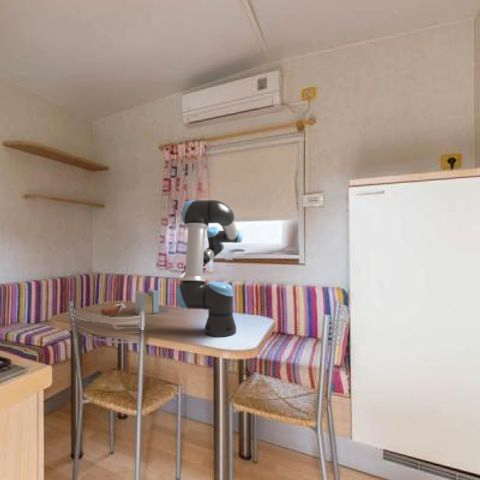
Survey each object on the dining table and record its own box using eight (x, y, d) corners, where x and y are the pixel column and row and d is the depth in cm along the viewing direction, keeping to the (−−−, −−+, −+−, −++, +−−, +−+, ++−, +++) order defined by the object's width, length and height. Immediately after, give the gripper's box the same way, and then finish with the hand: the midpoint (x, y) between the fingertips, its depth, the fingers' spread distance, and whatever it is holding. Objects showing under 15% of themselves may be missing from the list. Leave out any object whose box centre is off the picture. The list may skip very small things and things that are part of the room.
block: (148, 310, 174) (148, 293, 174) (152, 313, 167) (152, 295, 167) (141, 311, 172) (141, 294, 172) (145, 314, 165) (145, 296, 165)
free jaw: (152, 308, 177) (152, 288, 176) (158, 312, 168) (158, 291, 168) (147, 309, 175) (147, 289, 175) (153, 313, 167) (153, 292, 166)
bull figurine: (126, 317, 163) (126, 303, 163) (102, 323, 153) (102, 307, 153) (123, 316, 166) (123, 301, 166) (98, 321, 156) (98, 306, 156)
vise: (162, 309, 181) (162, 288, 180) (169, 313, 172) (169, 291, 171) (134, 313, 171) (134, 291, 171) (139, 318, 162) (139, 294, 162)
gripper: (211, 267, 188) (185, 289, 172) (196, 253, 189) (170, 273, 173) (214, 261, 182) (189, 283, 166) (199, 246, 184) (173, 267, 168)
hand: (179, 278), depth 170 cm, fingers closed
